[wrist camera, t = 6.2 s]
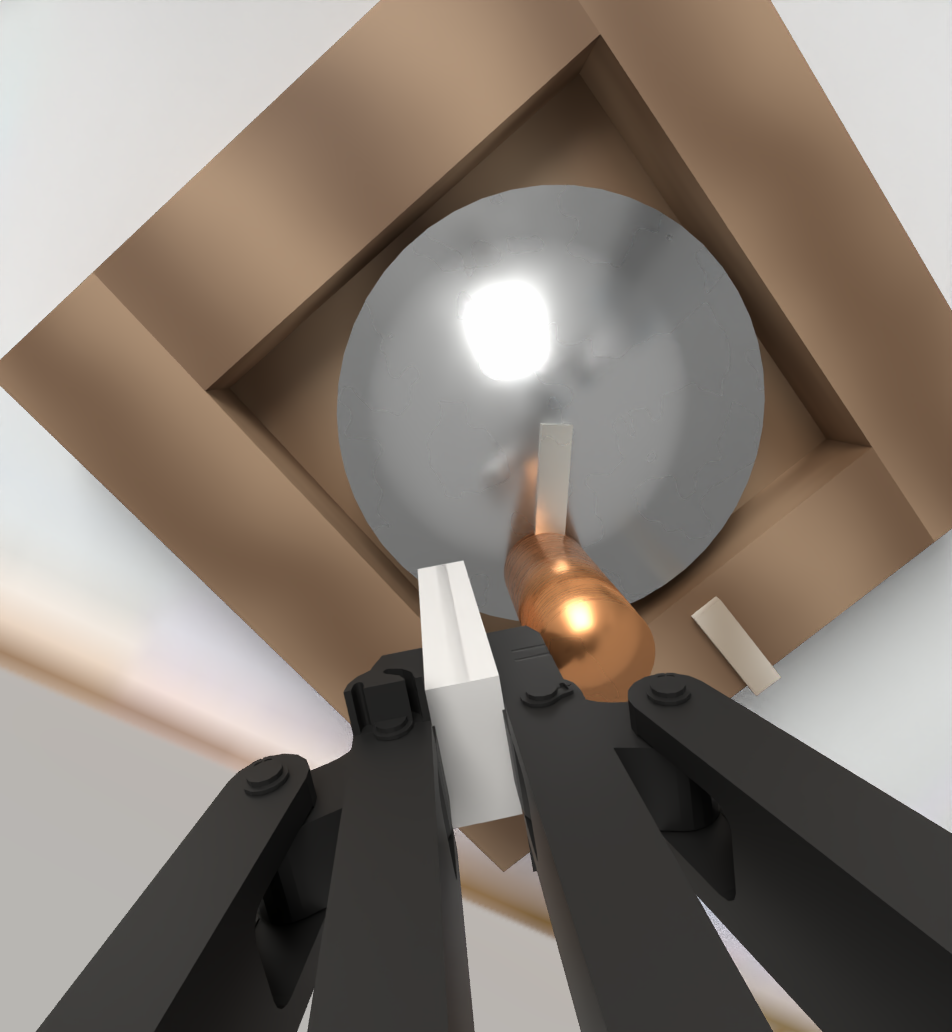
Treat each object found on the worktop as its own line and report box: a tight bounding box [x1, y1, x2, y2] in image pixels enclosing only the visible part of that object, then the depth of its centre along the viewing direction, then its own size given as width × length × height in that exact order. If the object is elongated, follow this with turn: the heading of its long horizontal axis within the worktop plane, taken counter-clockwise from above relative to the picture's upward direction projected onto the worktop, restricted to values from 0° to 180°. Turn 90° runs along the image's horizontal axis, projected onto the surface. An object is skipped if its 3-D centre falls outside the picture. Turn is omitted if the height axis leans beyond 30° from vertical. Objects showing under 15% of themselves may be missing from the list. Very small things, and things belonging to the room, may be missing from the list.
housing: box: [0, 0, 952, 872], centre depth 21 cm, size 22×22×5 cm
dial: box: [337, 185, 765, 702], centre depth 17 cm, size 13×13×8 cm
